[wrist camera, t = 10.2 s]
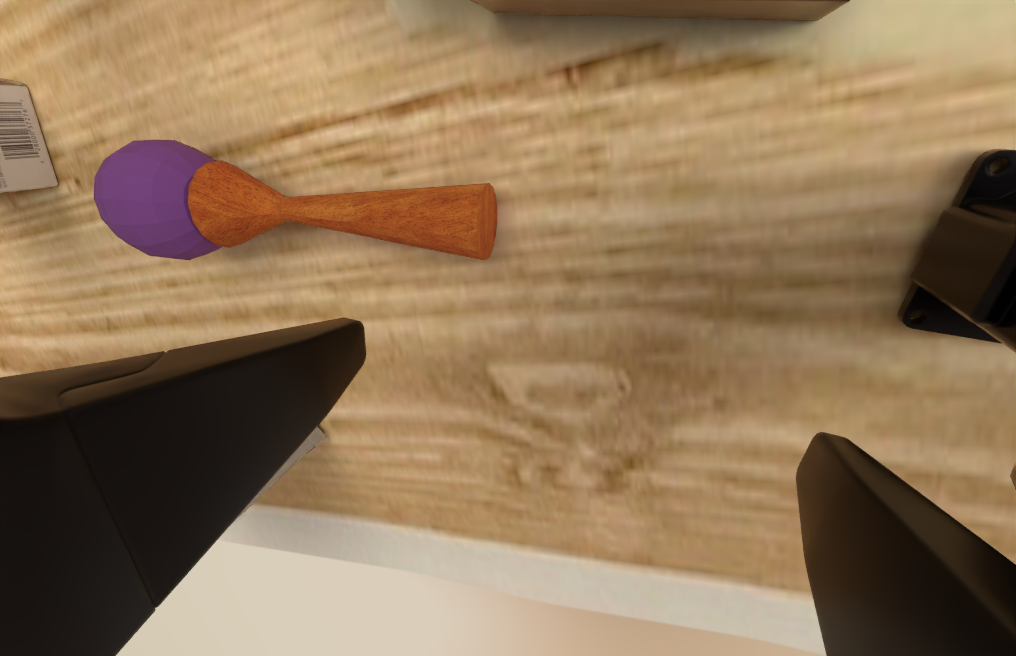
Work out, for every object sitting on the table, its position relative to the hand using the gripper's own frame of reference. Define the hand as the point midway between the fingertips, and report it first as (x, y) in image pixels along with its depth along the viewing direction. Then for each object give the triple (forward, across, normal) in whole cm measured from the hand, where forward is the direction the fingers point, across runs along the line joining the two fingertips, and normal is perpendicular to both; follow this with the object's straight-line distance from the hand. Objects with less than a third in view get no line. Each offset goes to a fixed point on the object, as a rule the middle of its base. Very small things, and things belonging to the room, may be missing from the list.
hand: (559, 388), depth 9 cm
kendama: (+13, +16, +1) cm, 20 cm away
